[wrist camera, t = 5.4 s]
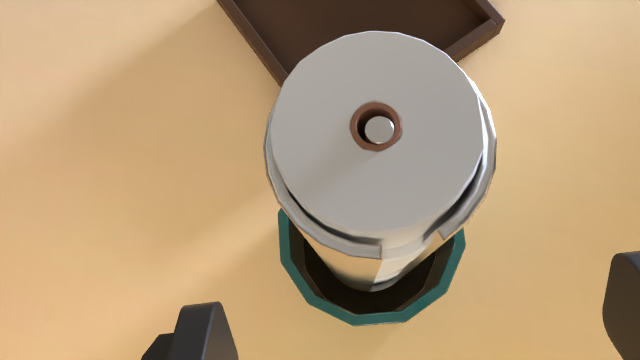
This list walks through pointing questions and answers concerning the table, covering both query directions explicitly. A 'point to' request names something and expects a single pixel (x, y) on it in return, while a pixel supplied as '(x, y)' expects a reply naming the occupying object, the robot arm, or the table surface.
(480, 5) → the tray
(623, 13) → the table surface
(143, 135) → the table surface
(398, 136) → the silver metal cylinder
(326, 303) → the cup
